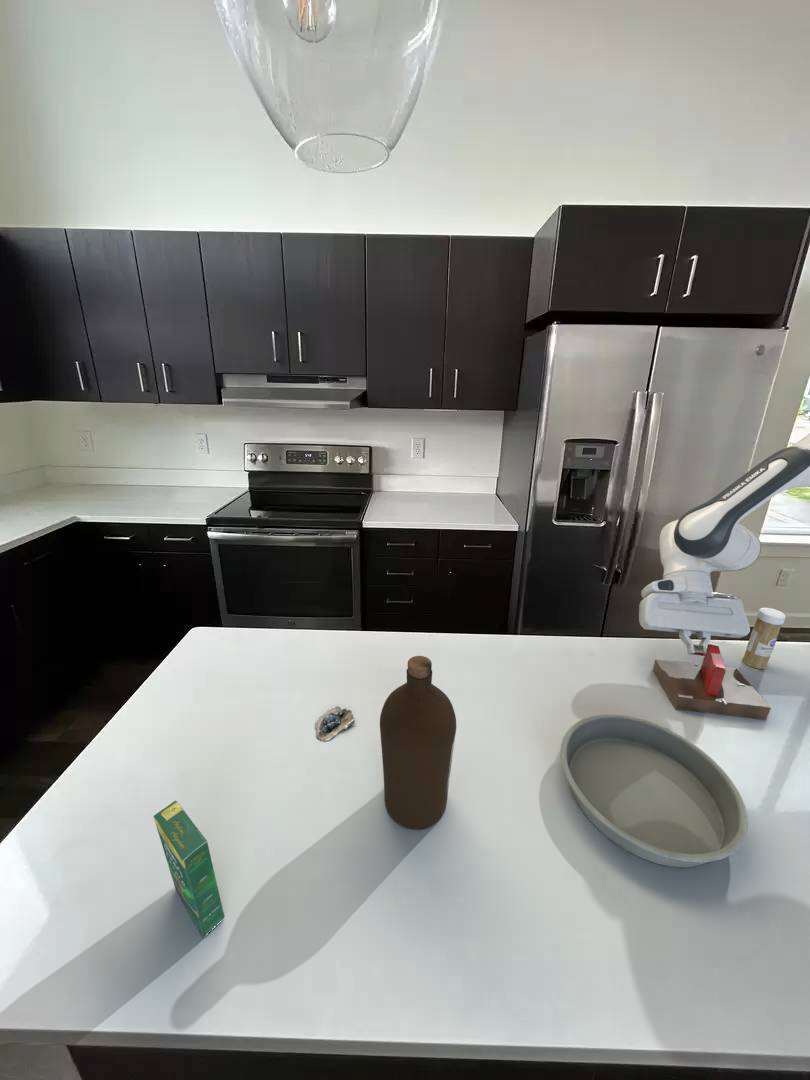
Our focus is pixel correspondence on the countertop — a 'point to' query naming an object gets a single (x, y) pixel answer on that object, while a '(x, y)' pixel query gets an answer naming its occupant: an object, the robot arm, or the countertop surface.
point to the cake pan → (653, 791)
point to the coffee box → (190, 866)
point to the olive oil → (417, 748)
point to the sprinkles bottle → (763, 637)
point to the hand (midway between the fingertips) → (697, 654)
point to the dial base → (690, 694)
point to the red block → (713, 670)
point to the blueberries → (333, 723)
